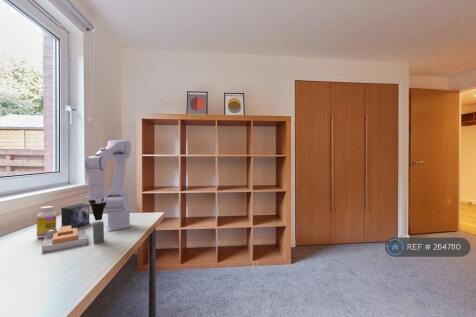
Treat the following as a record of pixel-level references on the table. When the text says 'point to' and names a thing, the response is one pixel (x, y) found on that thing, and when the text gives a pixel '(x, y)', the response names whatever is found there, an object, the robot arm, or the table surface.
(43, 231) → the supplement bottle
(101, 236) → the grey metal square peg
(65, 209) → the small box
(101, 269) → the table surface
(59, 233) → the bracket
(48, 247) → the peg hole board
